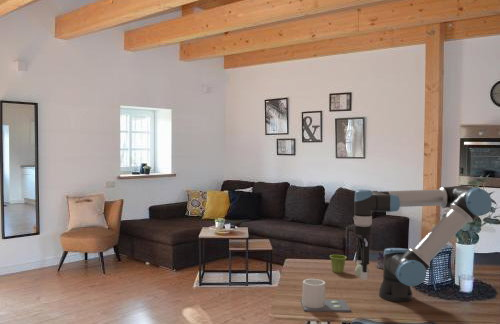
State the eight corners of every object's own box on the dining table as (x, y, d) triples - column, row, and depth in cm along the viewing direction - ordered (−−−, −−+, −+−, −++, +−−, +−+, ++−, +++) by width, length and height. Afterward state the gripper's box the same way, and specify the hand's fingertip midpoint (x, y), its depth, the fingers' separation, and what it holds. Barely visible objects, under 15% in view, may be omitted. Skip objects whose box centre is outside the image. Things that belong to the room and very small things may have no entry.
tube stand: (344, 301, 213) (344, 278, 213) (350, 311, 200) (351, 286, 200) (300, 300, 213) (300, 277, 212) (304, 311, 200) (304, 286, 199)
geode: (389, 271, 265) (387, 254, 266) (372, 270, 274) (370, 253, 275) (409, 265, 278) (407, 248, 278) (392, 263, 287) (391, 247, 287)
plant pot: (348, 271, 264) (349, 256, 264) (342, 275, 256) (343, 259, 256) (333, 268, 269) (333, 253, 269) (326, 272, 261) (327, 257, 261)
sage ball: (366, 275, 209) (366, 262, 209) (370, 279, 203) (370, 266, 203) (353, 275, 209) (353, 262, 209) (356, 279, 203) (356, 265, 203)
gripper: (349, 221, 215) (348, 271, 216) (359, 228, 196) (358, 283, 197) (365, 221, 215) (365, 271, 216) (377, 228, 196) (376, 283, 197)
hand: (362, 276), depth 206 cm, fingers closed on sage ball, 6 cm apart
